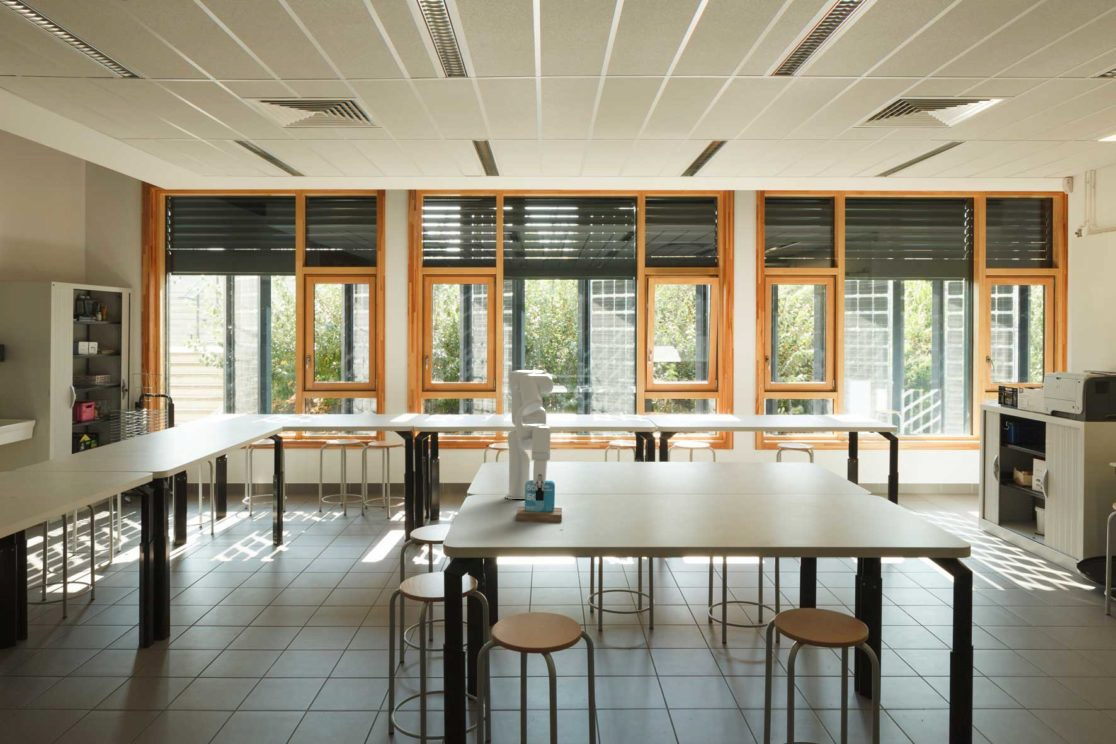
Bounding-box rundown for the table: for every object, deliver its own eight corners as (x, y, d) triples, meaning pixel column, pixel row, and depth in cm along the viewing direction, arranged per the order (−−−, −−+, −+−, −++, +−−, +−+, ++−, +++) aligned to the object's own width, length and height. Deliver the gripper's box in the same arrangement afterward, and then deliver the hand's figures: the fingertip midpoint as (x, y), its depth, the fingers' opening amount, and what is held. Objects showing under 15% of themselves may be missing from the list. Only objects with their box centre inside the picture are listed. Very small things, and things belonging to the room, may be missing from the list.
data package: (524, 511, 307) (525, 481, 306) (525, 509, 311) (525, 480, 311) (554, 512, 307) (554, 482, 306) (554, 510, 311) (555, 480, 311)
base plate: (518, 514, 316) (518, 506, 316) (561, 515, 316) (561, 507, 316) (516, 521, 302) (516, 514, 302) (561, 522, 302) (561, 515, 302)
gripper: (532, 453, 317) (531, 493, 317) (530, 458, 300) (529, 502, 300) (550, 453, 317) (549, 494, 317) (549, 459, 299) (548, 502, 300)
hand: (539, 498), depth 309 cm, fingers open, 9 cm apart
